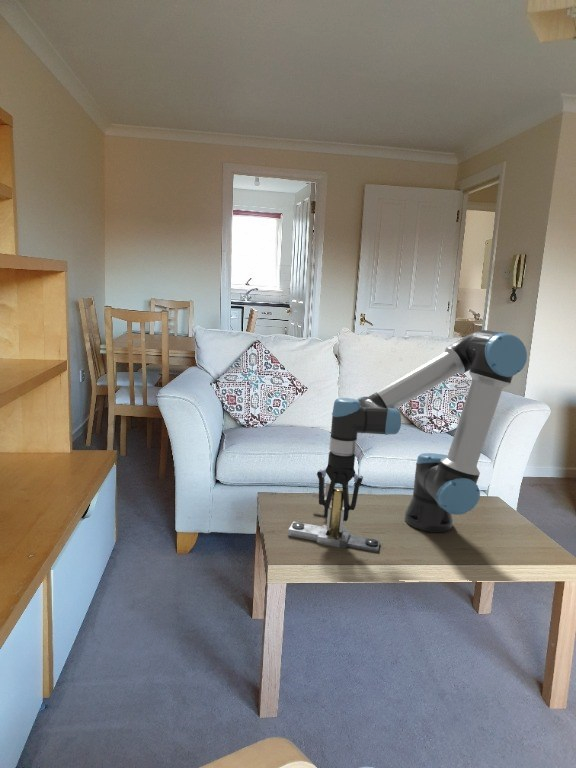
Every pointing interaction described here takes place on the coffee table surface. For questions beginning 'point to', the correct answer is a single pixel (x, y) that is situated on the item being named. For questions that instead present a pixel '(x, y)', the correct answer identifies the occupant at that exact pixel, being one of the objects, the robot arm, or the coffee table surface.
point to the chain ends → (332, 537)
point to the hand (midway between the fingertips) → (334, 529)
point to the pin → (336, 512)
